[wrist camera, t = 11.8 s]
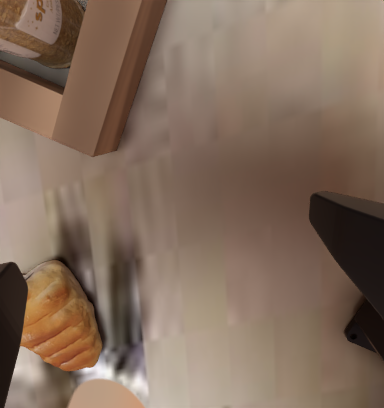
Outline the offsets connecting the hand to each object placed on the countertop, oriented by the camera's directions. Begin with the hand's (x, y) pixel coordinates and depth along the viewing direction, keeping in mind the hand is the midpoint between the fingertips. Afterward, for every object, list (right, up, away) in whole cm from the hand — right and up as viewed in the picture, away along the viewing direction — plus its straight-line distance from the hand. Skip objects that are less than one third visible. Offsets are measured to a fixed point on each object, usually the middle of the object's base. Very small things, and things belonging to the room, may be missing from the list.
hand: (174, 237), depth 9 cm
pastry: (-10, -7, +16) cm, 20 cm away
